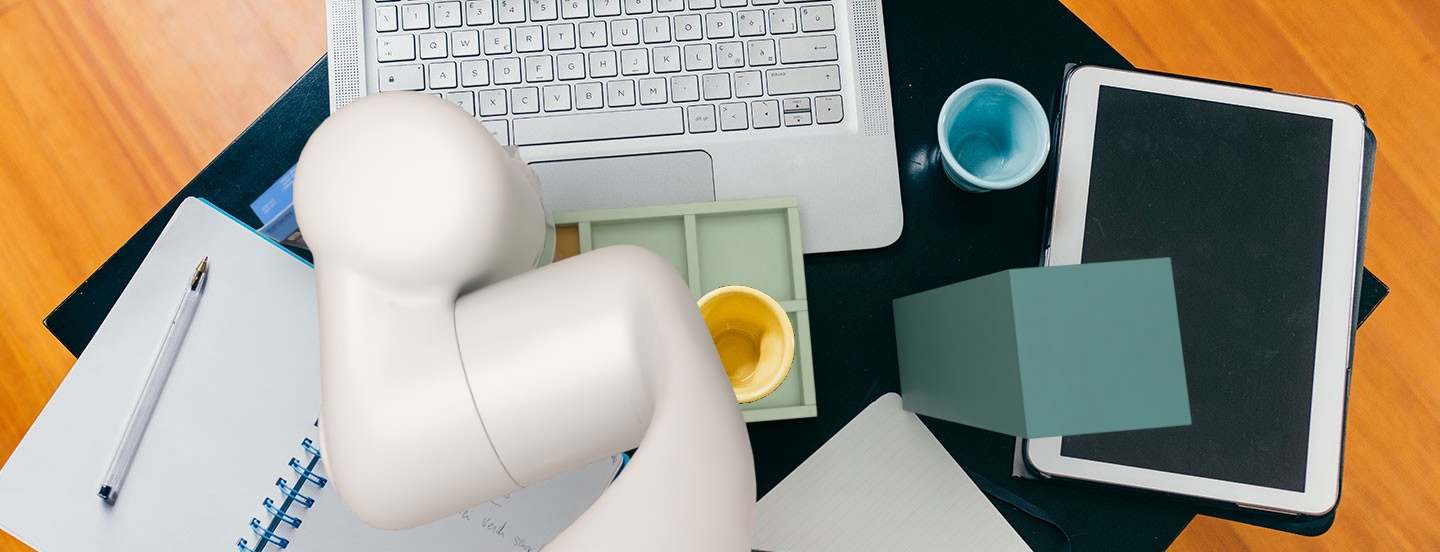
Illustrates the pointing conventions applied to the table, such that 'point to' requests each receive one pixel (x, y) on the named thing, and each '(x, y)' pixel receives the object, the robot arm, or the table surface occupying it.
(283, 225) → the label tape box
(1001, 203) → the table surface
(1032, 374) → the plinth
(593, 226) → the grid
